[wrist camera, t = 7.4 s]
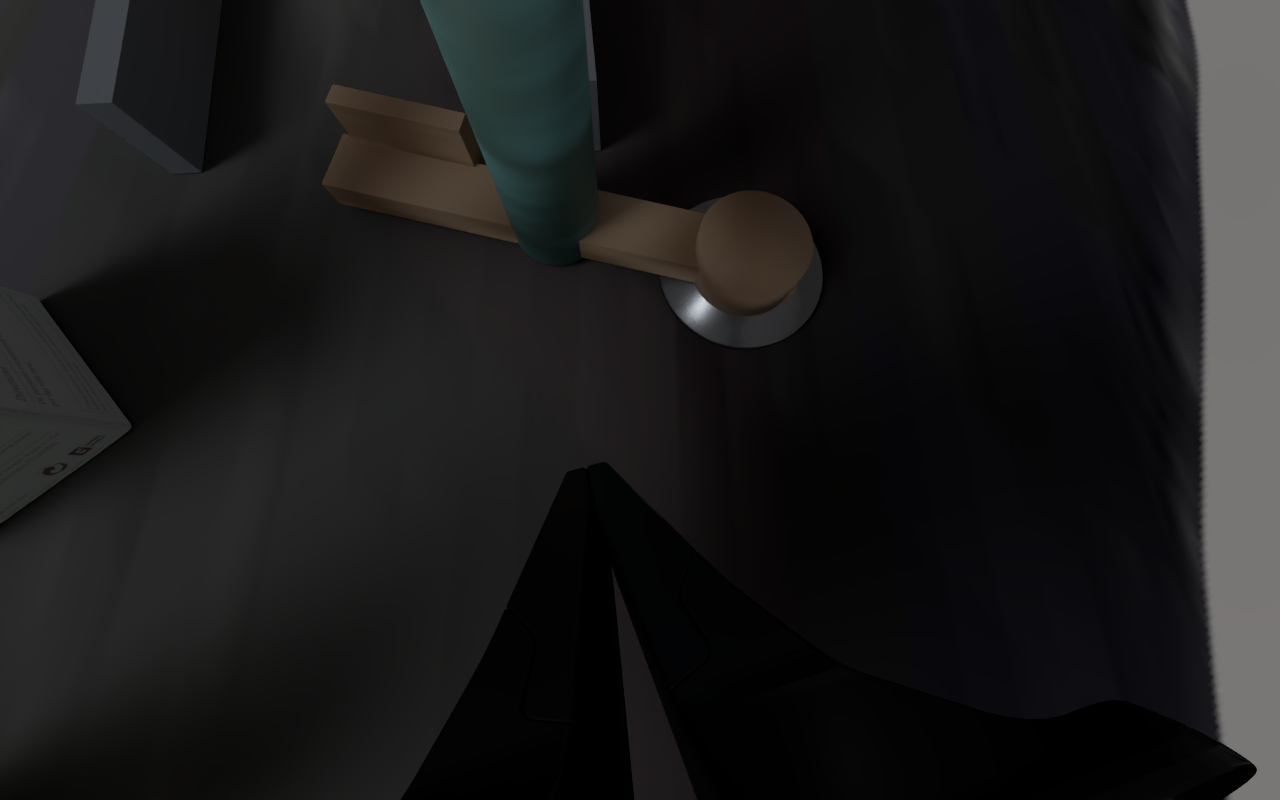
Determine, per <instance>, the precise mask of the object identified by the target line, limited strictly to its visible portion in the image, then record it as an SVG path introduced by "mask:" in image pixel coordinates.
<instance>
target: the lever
mask: <svg viewBox="0 0 1280 800" xmlns="http://www.w3.org/2000/svg"><path fill="white" fill-rule="evenodd" d="M420 1H421V4H422V6H423V9H424V11H425V13H426V16H427V18H428V21H429V23H430V26H431V28H432V31H433V33H434V36H435V38H436V41H437V43H438V46H439V48H440V51H441V53H442V56H443V58H444V61H445V63H446V65H447V68H448V70H449V73H450V75H451V78H452V80H453V83H454V85H455V88H456V90H457V93H458V95H459V98H460V100H461V103H462V105H463V108H464V110H465V112H466V114H465V113H461V112H457V111H452V110H448V109H443V108H439V107H434V106H430V105H425V104H421V103H416V102H411V101H407V100H402V99H398V98H393V97H389V96H384V95H380V94H375V93H371V92H366V91H362V90H357V89H353V88H348V87H343V86H339V85H334V84H333V85H332V87H331V89H330V91H329V93H328V96H327V98H326V100H325V103H326V104H327V105H328V107H329V108H330V109H331V111H332V112H333V113H334V115H335V116H336V117H337V119H338V120H339V121H340V123H341V124H342V125H343V127H344V128H345V129H346V131H347V132H348V134H349V135H347V134H343V136H342V138H341V140H340V142H339V145H338V147H337V149H336V152H335V154H334V156H333V158H332V161H331V163H330V165H329V168H328V170H327V172H326V175H325V177H324V179H323V181H322V185H323V186H324V187H325V188H326V189H327V191H328V192H329V193H330V194H331V195H332V196H333V197H334V198H335V199H336V200H337V201H338V202H339V203H340V204H344V205H348V206H353V207H357V208H362V209H366V210H371V211H375V212H380V213H384V214H389V215H393V216H398V217H402V218H407V219H411V220H416V221H420V222H425V223H429V224H434V225H438V226H443V227H447V228H452V229H456V230H461V231H465V232H470V233H474V234H479V235H483V236H488V237H492V238H497V239H501V240H505V241H510V242H514V243H519V245H520V247H521V248H522V250H523V251H524V252H525V253H526V254H527V255H528V256H530V257H531V258H532V259H534V260H536V261H538V262H540V263H544V264H547V265H557V266H559V265H567V264H571V263H574V262H576V261H578V260H580V259H582V258H586V259H591V260H595V261H600V262H604V263H609V264H613V265H618V266H622V267H627V268H631V269H636V270H640V271H645V272H649V273H654V274H658V275H663V276H667V277H672V278H676V279H681V280H685V281H690V282H694V284H695V286H696V288H697V290H698V292H699V293H700V294H701V296H702V297H703V298H704V299H705V300H706V301H707V302H708V303H709V304H711V305H712V306H713V307H715V308H717V309H718V310H720V311H722V312H725V313H728V314H731V315H736V316H755V315H760V314H763V313H766V312H768V311H770V310H772V309H773V308H775V307H776V306H778V305H779V304H780V303H781V302H784V303H785V302H786V301H787V300H788V299H789V297H790V296H791V295H792V294H793V293H794V291H795V290H796V287H797V282H798V281H799V280H800V279H801V278H802V276H803V275H804V274H805V272H806V271H807V269H808V267H809V265H810V262H811V259H812V255H813V239H812V235H811V231H810V229H809V226H808V224H807V222H806V220H805V219H804V218H803V216H802V215H801V214H800V212H799V211H798V210H797V209H796V208H795V207H794V206H793V205H791V204H790V203H789V202H787V201H786V200H784V199H782V198H780V197H778V196H776V195H773V194H770V193H767V192H762V191H752V190H750V191H740V192H735V193H732V194H729V195H727V196H725V197H723V198H721V199H720V200H718V201H717V202H716V203H715V204H713V205H712V206H711V207H710V209H709V210H708V211H707V212H706V214H704V213H700V212H695V211H691V210H686V209H682V208H677V207H673V206H668V205H664V204H659V203H655V202H650V201H646V200H641V199H637V198H632V197H627V196H623V195H618V194H614V193H609V192H605V191H600V190H597V177H596V164H595V151H594V138H593V125H592V111H591V98H590V85H589V72H588V59H587V46H586V33H585V20H584V7H583V0H420ZM466 115H467V116H466ZM467 117H468V119H467ZM468 120H469V121H468ZM469 122H470V123H469ZM470 125H471V126H470ZM471 127H472V128H471ZM472 130H473V131H472ZM473 132H474V133H473ZM474 135H475V136H474ZM475 137H476V138H475ZM476 140H477V141H476ZM477 142H478V143H477ZM478 145H479V146H478ZM479 147H480V148H479ZM480 150H481V151H480ZM481 152H482V153H481ZM482 155H483V156H482ZM483 157H484V158H483ZM484 159H485V160H484ZM485 162H486V163H485ZM486 164H487V165H486Z"/></svg>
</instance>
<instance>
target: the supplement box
mask: <svg viewBox="0 0 1280 800" xmlns="http://www.w3.org/2000/svg"><path fill="white" fill-rule="evenodd" d="M131 428H132V427H131V424H130V422H129V421H128V419H127V418H126V417H125V416H124V414H123V413H122V412H121V410H120V409H119V408H118V406H117V405H116V404H115V402H114V401H113V400H112V398H111V397H110V396H109V394H108V393H107V392H106V390H105V389H104V388H103V386H102V385H101V384H100V382H99V381H98V380H97V378H96V377H95V376H94V374H93V373H92V371H91V370H90V369H89V367H88V366H87V365H86V363H85V362H84V361H83V359H82V358H81V357H80V355H79V354H78V353H77V351H76V350H75V349H74V347H73V346H72V344H71V343H70V342H69V340H68V339H67V338H66V336H65V335H64V334H63V332H62V331H61V330H60V328H59V327H58V326H57V324H56V323H55V321H54V320H53V319H52V317H51V316H50V315H49V313H48V312H47V311H46V309H45V308H44V306H43V305H42V304H41V302H40V301H39V300H38V299H37V298H36V297H34V296H30V295H26V294H23V293H20V292H17V291H14V290H11V289H8V288H5V287H2V286H0V523H2V522H3V521H5V520H6V519H8V518H9V517H11V516H12V515H13V514H15V513H16V512H17V511H19V510H20V509H22V508H23V507H25V506H26V505H27V504H28V503H30V502H31V501H33V500H35V499H36V498H37V497H39V496H40V495H41V494H43V493H44V492H45V491H47V490H48V489H50V488H51V487H52V486H54V485H55V484H57V483H58V482H59V481H61V480H62V479H64V478H65V477H66V476H68V475H69V474H71V473H72V472H74V471H75V470H76V469H78V468H79V467H80V466H82V465H83V464H85V463H86V462H87V461H89V460H90V459H91V458H93V457H94V456H96V455H97V454H98V453H100V452H101V451H102V450H104V449H105V448H106V447H108V446H109V445H111V444H112V443H113V442H115V441H116V440H118V439H119V438H120V437H121V436H123V435H124V434H125V433H127V432H128V431H129V430H130V429H131Z"/></svg>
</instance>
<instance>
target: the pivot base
mask: <svg viewBox="0 0 1280 800" xmlns="http://www.w3.org/2000/svg"><path fill="white" fill-rule="evenodd" d="M722 198H723V197H722ZM720 199H721V198H716V199H713V200H709V201H706V202H704V203H702V204H699V205H697V206H696V207H694V208H692V209H691V211H695V212H700V213H704V214H706V212H707V211H708V210H709V209H710V207H711V206H712V205H713V204H715V203H716V202H717V201H718V200H720ZM659 279H660V285H661V289H662V292H663V295H664V298H665V300H666V302H667V304H668V306H669V308H670V309H671V311H672V312H673V314H674V315H675V316H676V318H677V319H678V320H679V321H680V322H681V323H682V324H683V325H684V326H685V327H686V328H687V329H689V330H690V331H691V332H692V333H694V334H695V335H697V336H699V337H700V338H702V339H704V340H706V341H708V342H710V343H712V344H715V345H719V346H722V347H726V348H731V349H742V350H747V349H758V348H763V347H767V346H770V345H773V344H776V343H778V342H780V341H782V340H784V339H786V338H788V337H789V336H790V335H792V334H793V333H795V332H796V331H797V330H798V329H799V328H800V327H801V326H802V325H803V324H804V323H805V322H806V321H807V320H808V318H809V317H810V316H811V314H812V313H813V311H814V309H815V307H816V305H817V303H818V300H819V297H820V294H821V290H822V281H823V276H822V265H821V260H820V257H819V254H818V251H817V248H816V246H815V244H814V242H813V255H812V259H811V262H810V265H809V267H808V269H807V271H806V272H805V274H804V275H803V276H802V278H801V279H800V280H799V281H798V282H797V287H796V290H795V291H794V293H793V294H792V295H791V296H790V297H789V299H788V300H787V301H786V302H785V303H784V302H781V303H780V304H779V305H778V306H776V307H775V308H773V309H772V310H770V311H768V312H766V313H763V314H760V315H755V316H736V315H731V314H728V313H725V312H722V311H720V310H718V309H717V308H715V307H713V306H712V305H711V304H709V303H708V302H707V301H706V300H705V299H704V298H703V297H702V296H701V294H700V293H699V292H698V290H697V288H696V286H695V284H694V282H690V281H685V280H681V279H676V278H672V277H667V276H663V275H659Z"/></svg>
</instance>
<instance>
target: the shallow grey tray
mask: <svg viewBox="0 0 1280 800" xmlns="http://www.w3.org/2000/svg"><path fill="white" fill-rule="evenodd" d="M583 7H584V20H585V33H586V46H587V59H588V72H589V85H590V98H591V111H592V125H593V138H594V151H601V145H600V128H599V111H598V93H597V78H596V68H595V57H594V47H593V37H592V26H591V16H590V6H589V0H583ZM221 8H222V0H96V1H95V6H94V12H93V17H92V22H91V27H90V32H89V37H88V43H87V48H86V53H85V58H84V63H83V68H82V74H81V79H80V84H79V89H78V94H77V99H76V105H77V106H79V107H80V108H81V109H83V110H84V111H86V112H87V113H88V114H90V115H91V116H93V117H94V118H95V119H97V120H98V121H99V122H101V123H102V124H104V125H105V126H106V127H108V128H109V129H111V130H112V131H113V132H115V133H116V134H118V135H119V136H120V137H122V138H123V139H124V140H126V141H127V142H129V143H130V144H131V145H133V146H134V147H136V148H137V149H138V150H140V151H141V152H142V153H144V154H145V155H147V156H148V157H149V158H151V159H152V160H154V161H155V162H156V163H158V164H159V165H161V166H162V167H163V168H165V169H166V170H167V171H169V172H170V173H172V174H183V173H201V172H202V167H203V159H204V151H205V142H206V134H207V125H208V117H209V109H210V100H211V92H212V83H213V75H214V67H215V58H216V50H217V41H218V33H219V25H220V16H221Z"/></svg>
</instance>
